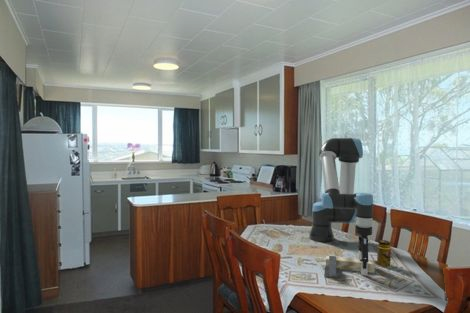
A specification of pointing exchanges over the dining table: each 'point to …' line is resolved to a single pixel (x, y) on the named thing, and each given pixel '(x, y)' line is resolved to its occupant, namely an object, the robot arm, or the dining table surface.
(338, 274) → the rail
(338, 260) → the bar
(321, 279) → the dining table surface
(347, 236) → the dining table surface
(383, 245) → the condiment
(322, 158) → the robot arm
